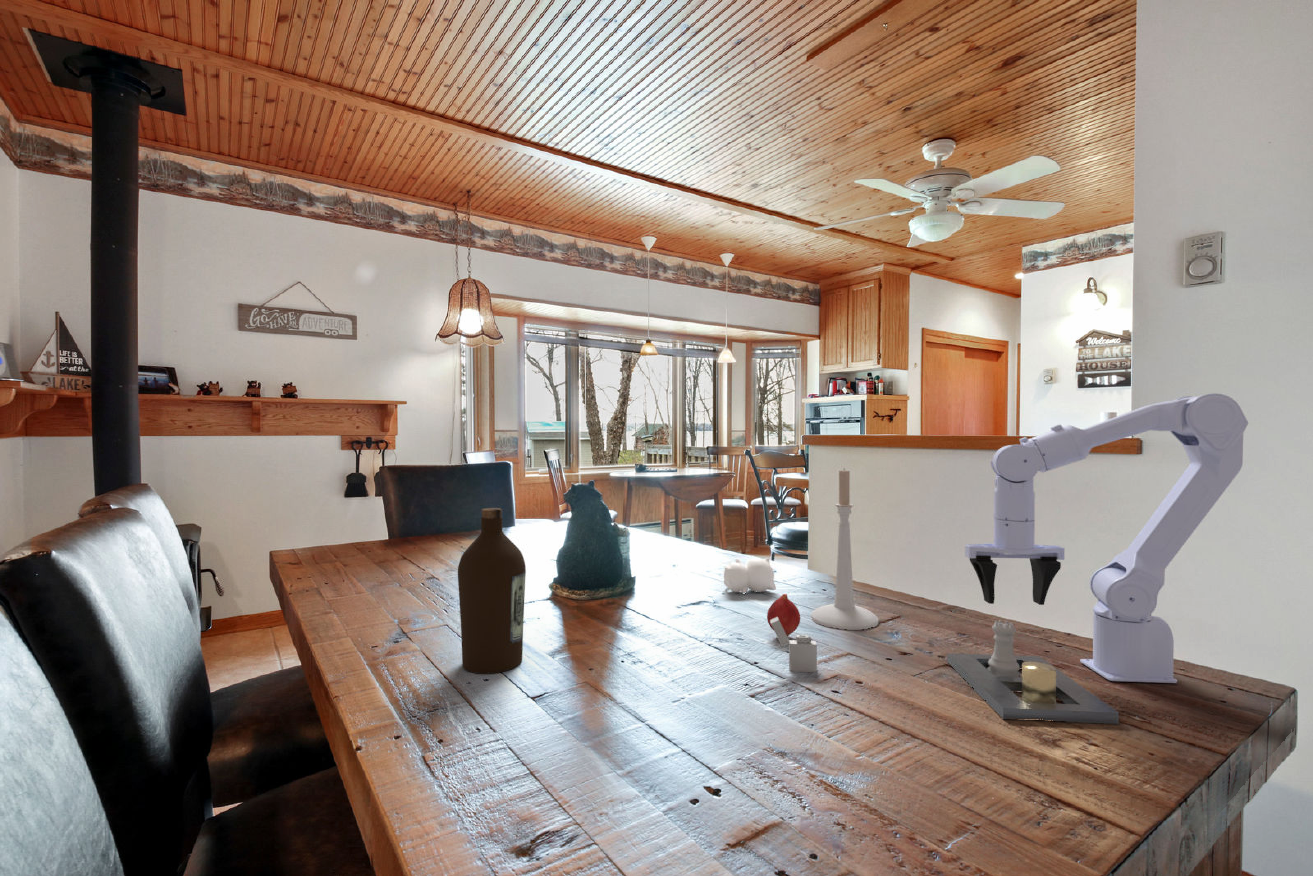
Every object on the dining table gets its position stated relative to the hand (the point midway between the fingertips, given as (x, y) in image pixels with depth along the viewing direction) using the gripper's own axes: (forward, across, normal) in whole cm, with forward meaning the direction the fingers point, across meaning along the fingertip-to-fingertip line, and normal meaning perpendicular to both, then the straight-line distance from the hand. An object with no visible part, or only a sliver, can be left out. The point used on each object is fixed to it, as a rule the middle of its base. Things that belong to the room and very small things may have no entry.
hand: (1013, 602), depth 102 cm
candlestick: (+10, +23, -20) cm, 32 cm away
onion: (+10, +36, -8) cm, 38 cm away
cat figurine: (+10, +41, -40) cm, 59 cm away
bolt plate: (+9, +4, +12) cm, 16 cm away
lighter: (+10, +36, +7) cm, 38 cm away
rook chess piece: (+10, +4, +6) cm, 12 cm away
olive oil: (+10, +84, +9) cm, 85 cm away
